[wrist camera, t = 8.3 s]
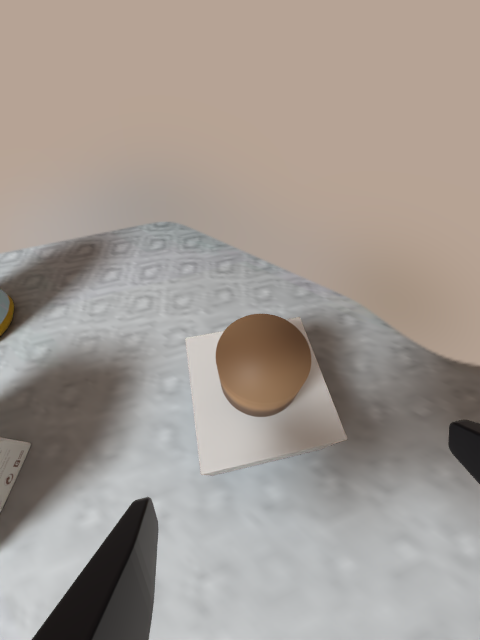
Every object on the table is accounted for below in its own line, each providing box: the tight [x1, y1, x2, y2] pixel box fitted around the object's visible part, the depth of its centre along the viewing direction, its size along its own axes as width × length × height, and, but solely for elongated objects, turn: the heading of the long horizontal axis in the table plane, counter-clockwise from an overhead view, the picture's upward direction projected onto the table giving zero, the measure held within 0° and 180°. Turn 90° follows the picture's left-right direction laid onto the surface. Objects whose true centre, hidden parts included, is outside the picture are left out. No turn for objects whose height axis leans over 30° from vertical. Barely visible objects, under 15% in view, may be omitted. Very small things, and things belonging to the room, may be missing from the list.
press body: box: [185, 317, 347, 476], centre depth 18 cm, size 8×8×6 cm
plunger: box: [216, 314, 311, 417], centre depth 16 cm, size 4×4×9 cm
